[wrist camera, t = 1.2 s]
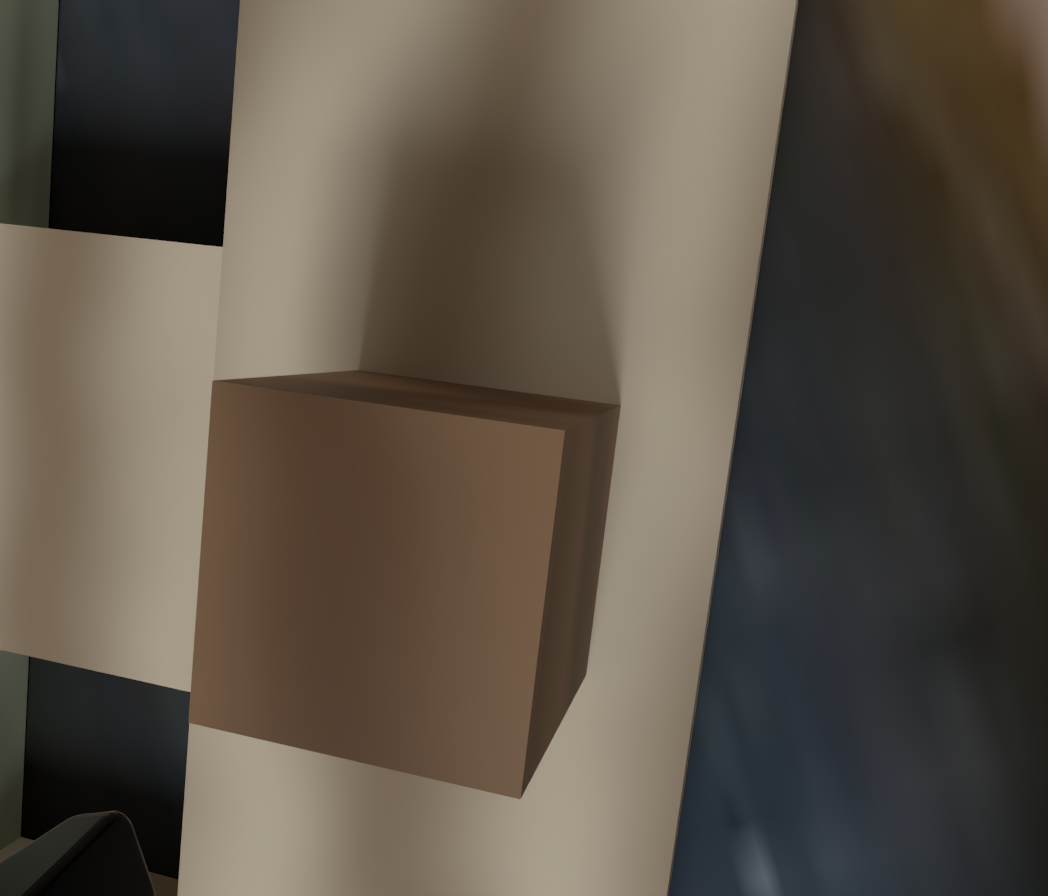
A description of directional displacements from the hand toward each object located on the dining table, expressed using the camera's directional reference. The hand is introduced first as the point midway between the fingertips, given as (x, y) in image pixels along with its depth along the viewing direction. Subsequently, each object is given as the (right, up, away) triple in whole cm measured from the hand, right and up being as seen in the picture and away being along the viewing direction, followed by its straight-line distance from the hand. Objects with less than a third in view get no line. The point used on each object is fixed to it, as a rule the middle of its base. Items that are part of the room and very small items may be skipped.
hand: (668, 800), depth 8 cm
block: (-2, +1, +10) cm, 11 cm away
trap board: (-8, +3, +14) cm, 16 cm away
